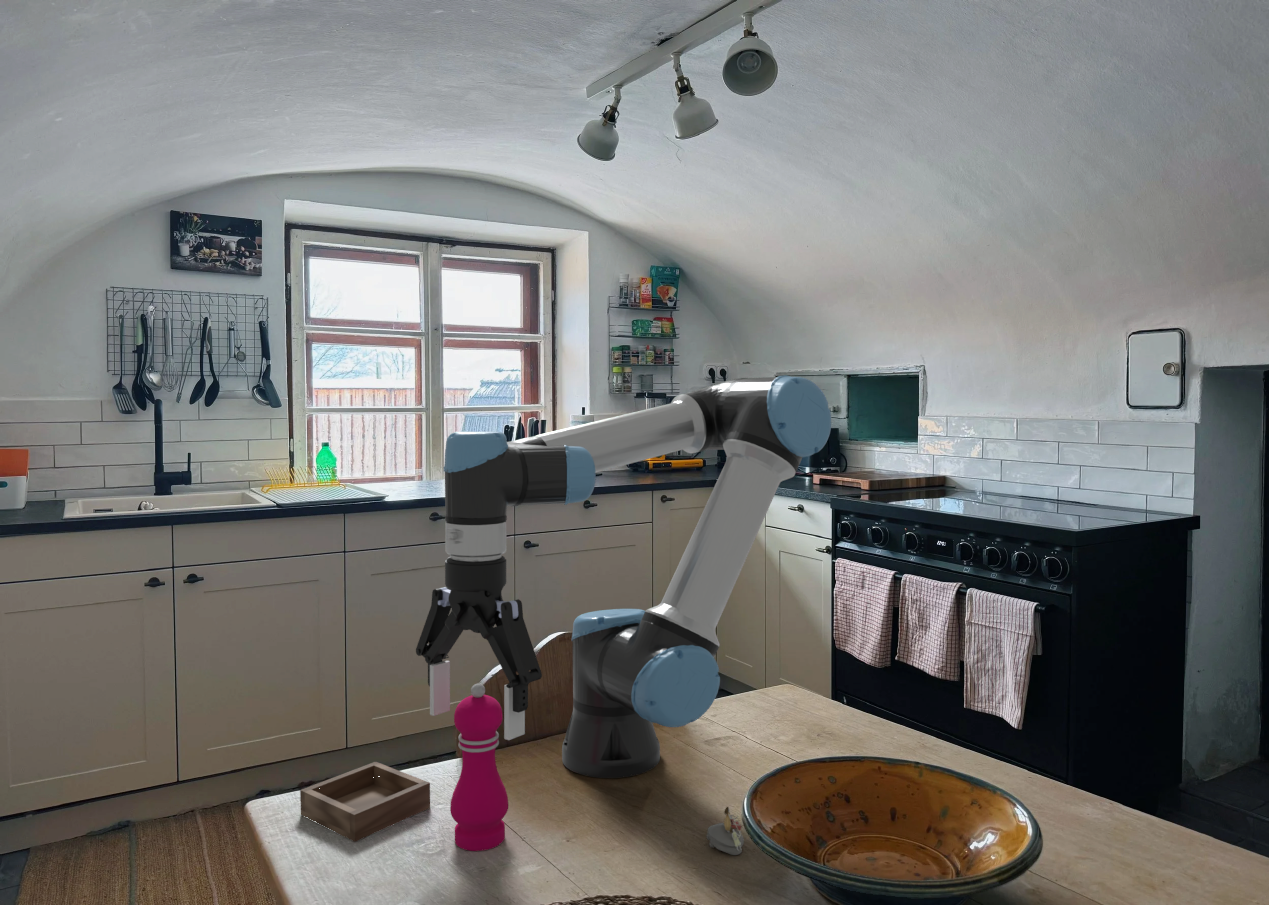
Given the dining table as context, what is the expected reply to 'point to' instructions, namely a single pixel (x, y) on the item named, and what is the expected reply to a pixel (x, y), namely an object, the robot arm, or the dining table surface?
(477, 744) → the pepper mill
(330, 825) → the holder tray
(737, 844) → the figurine
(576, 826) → the dining table surface
